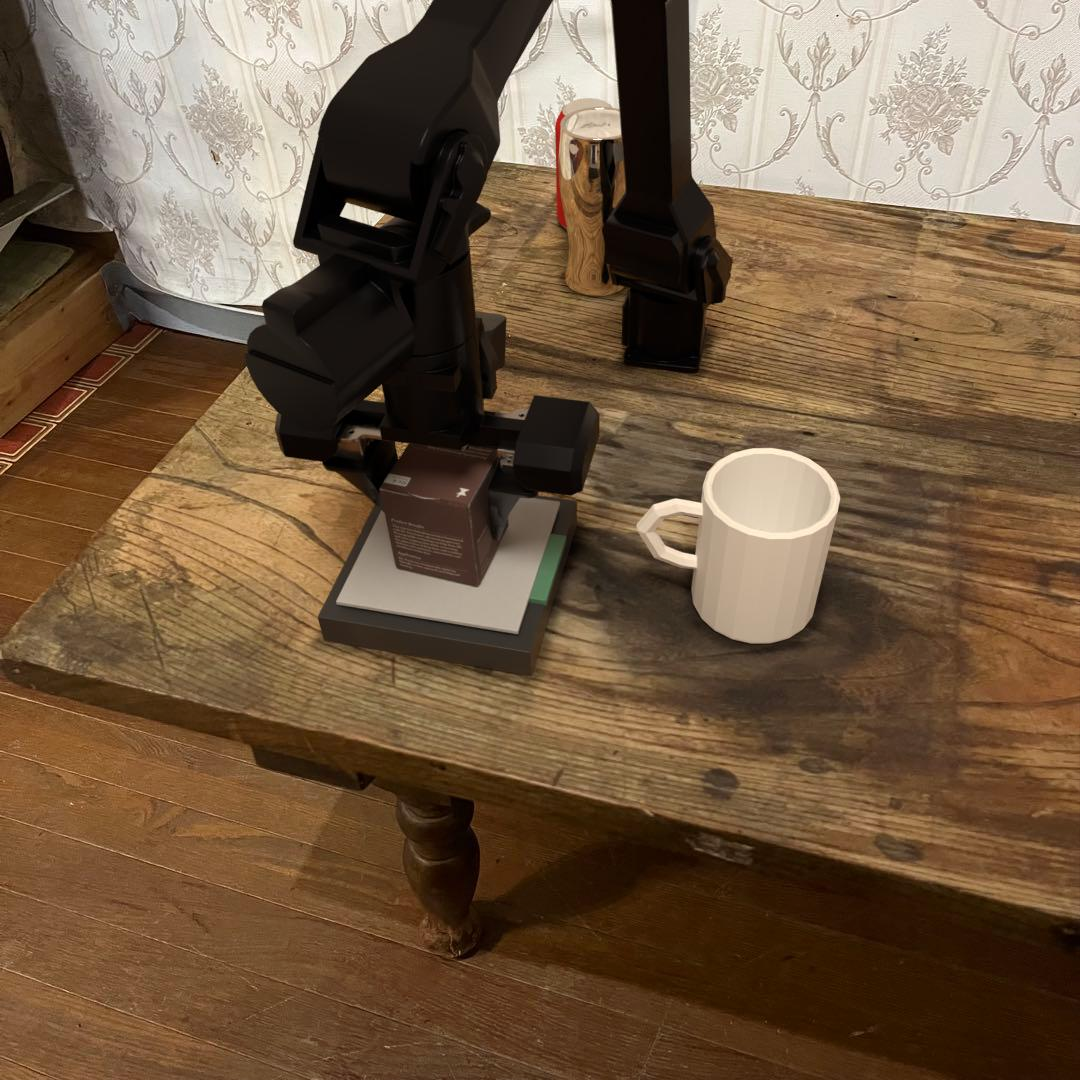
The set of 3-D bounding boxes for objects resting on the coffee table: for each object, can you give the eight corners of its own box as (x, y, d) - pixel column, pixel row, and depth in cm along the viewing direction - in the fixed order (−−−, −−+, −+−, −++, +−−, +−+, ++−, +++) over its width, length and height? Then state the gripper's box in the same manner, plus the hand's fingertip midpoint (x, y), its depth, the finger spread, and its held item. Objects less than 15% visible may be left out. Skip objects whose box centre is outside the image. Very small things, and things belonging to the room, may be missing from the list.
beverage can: (618, 211, 107) (621, 94, 99) (616, 241, 103) (618, 121, 94) (559, 210, 108) (557, 93, 99) (554, 240, 103) (552, 121, 95)
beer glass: (628, 302, 95) (634, 142, 84) (554, 295, 96) (550, 137, 86) (638, 263, 100) (645, 107, 89) (567, 257, 101) (566, 103, 90)
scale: (578, 524, 75) (578, 494, 72) (533, 676, 65) (531, 646, 63) (393, 498, 77) (388, 467, 75) (323, 640, 68) (315, 610, 66)
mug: (629, 556, 72) (634, 448, 65) (802, 554, 72) (826, 445, 65) (636, 646, 66) (642, 538, 60) (824, 644, 66) (852, 535, 59)
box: (511, 527, 70) (505, 444, 65) (478, 590, 66) (469, 507, 61) (429, 509, 72) (417, 426, 67) (392, 569, 68) (376, 486, 63)
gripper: (618, 266, 60) (613, 467, 72) (320, 238, 64) (360, 434, 75) (580, 379, 53) (581, 584, 64) (244, 340, 56) (300, 541, 67)
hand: (451, 528), depth 68 cm, fingers closed on box, 6 cm apart
